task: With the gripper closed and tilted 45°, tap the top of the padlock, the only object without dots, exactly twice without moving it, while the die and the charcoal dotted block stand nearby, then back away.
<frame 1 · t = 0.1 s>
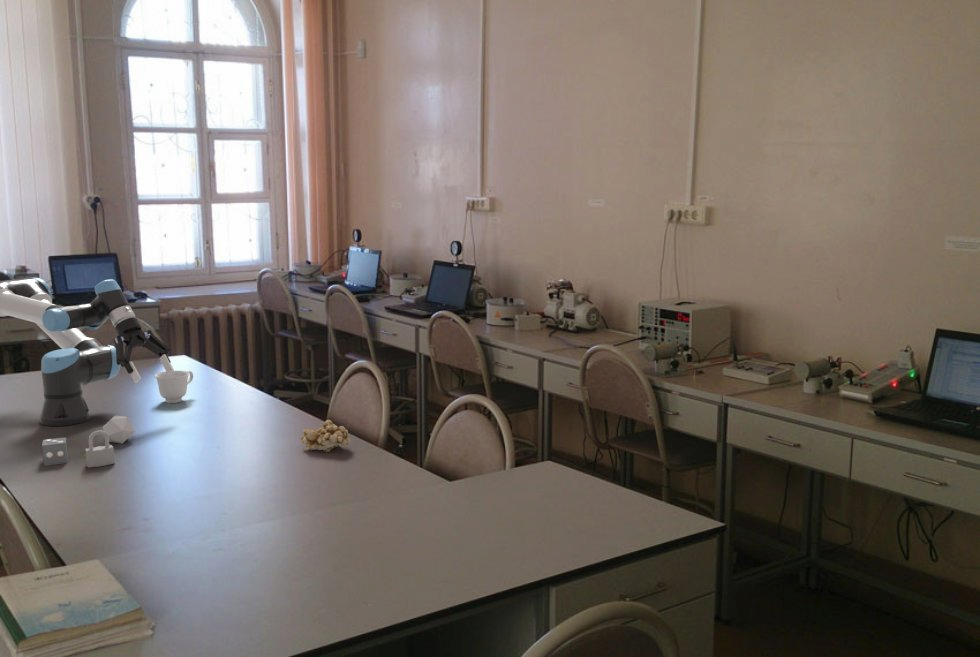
hand: (155, 376, 300), 15 cm above the table, fingers open, 13 cm apart
dotted block: (56, 461, 262), on the table
die: (119, 442, 281), on the table
padlock: (100, 465, 259), on the table
mineral formation: (328, 450, 272), on the table
teacup: (177, 400, 331), on the table
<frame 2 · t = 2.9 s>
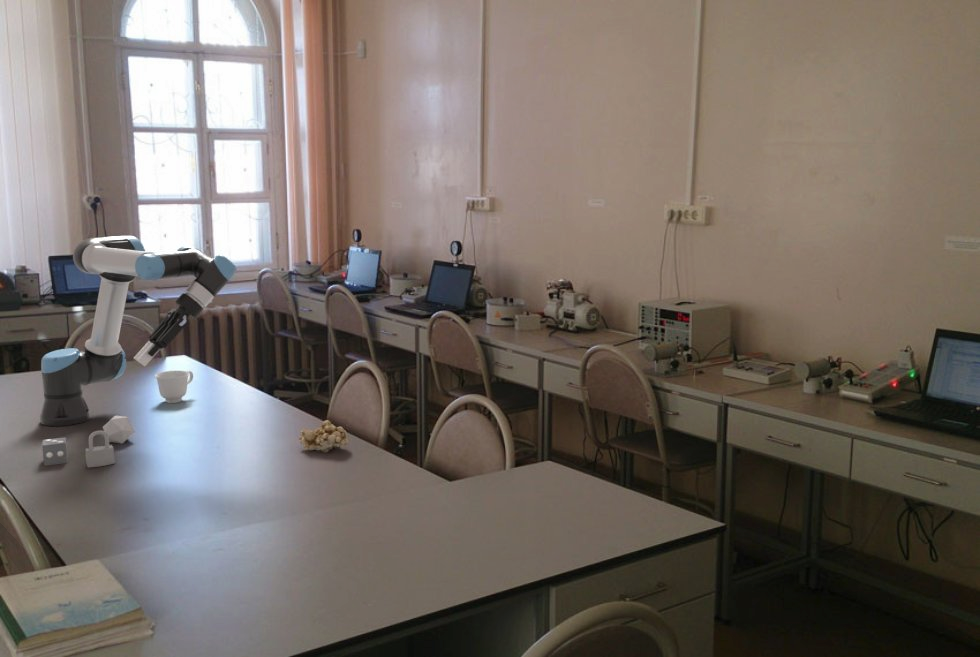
hand: (139, 362, 261), 28 cm above the table, fingers open, 3 cm apart
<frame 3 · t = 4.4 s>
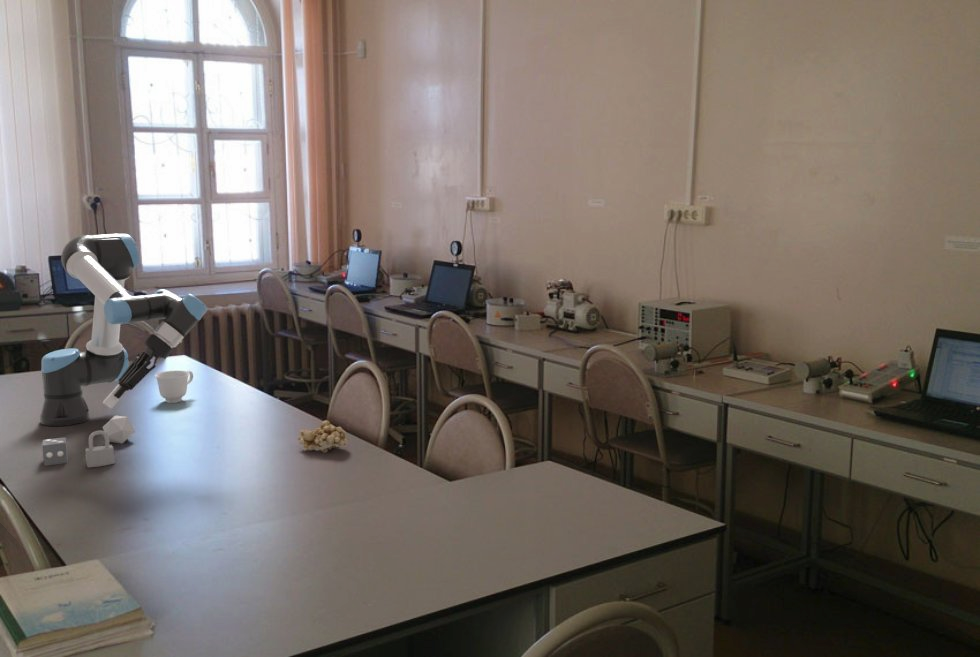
hand: (106, 405, 257), 17 cm above the table, fingers closed
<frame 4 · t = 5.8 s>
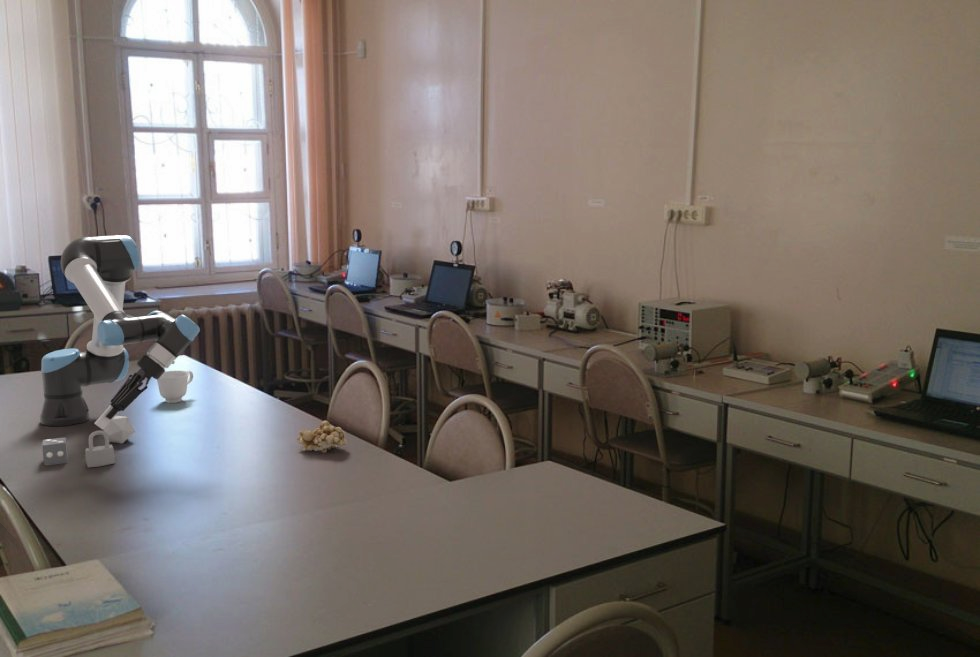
hand: (98, 426, 257), 11 cm above the table, fingers closed
padlock: (100, 465, 259), on the table, touching gripper
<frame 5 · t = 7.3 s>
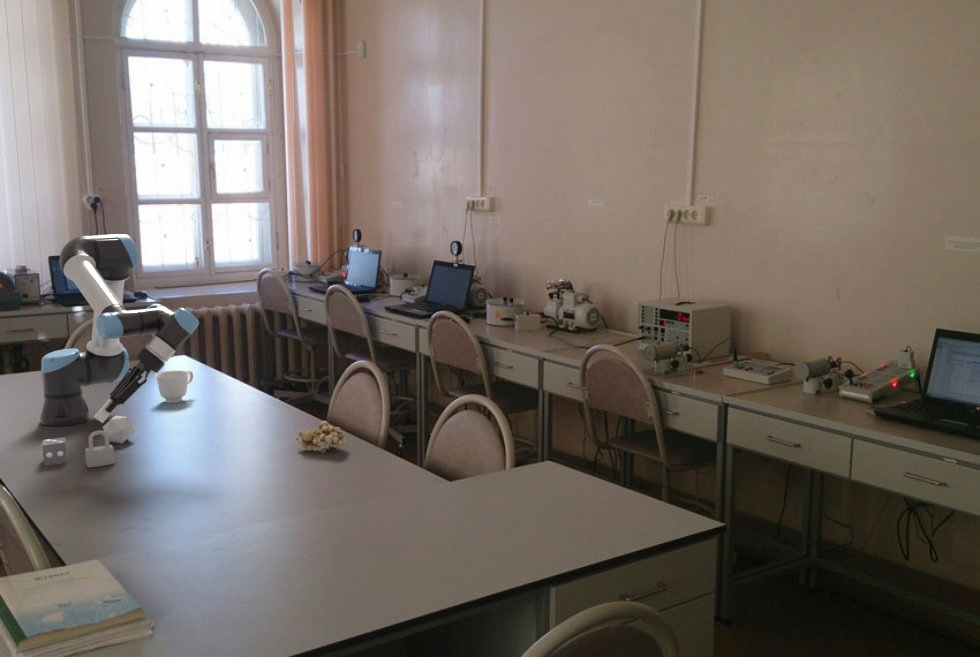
hand: (98, 419, 257), 13 cm above the table, fingers closed
padlock: (100, 465, 259), on the table
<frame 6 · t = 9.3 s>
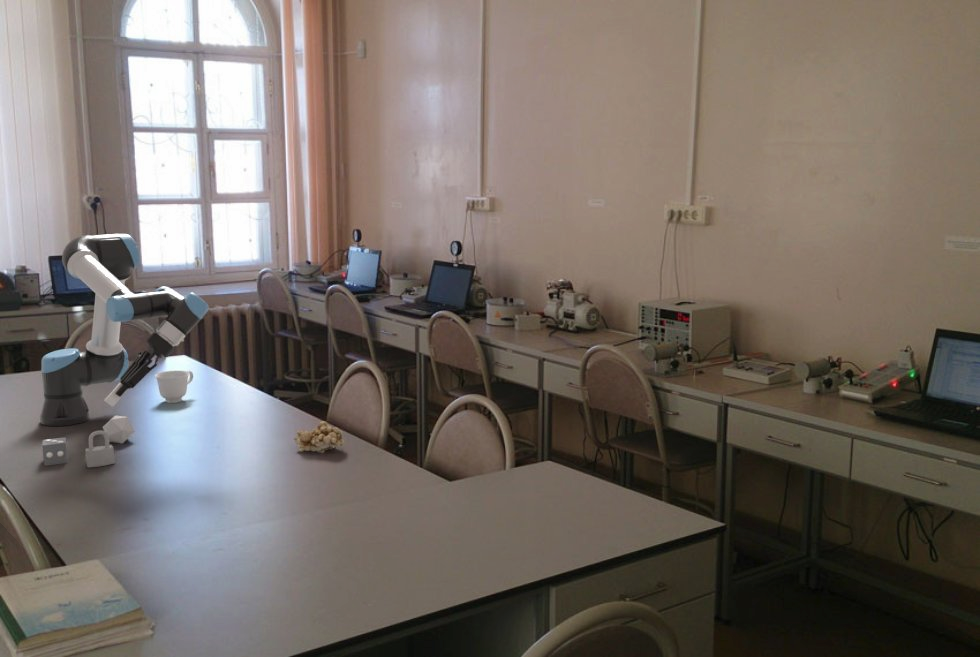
hand: (108, 403, 257), 17 cm above the table, fingers closed
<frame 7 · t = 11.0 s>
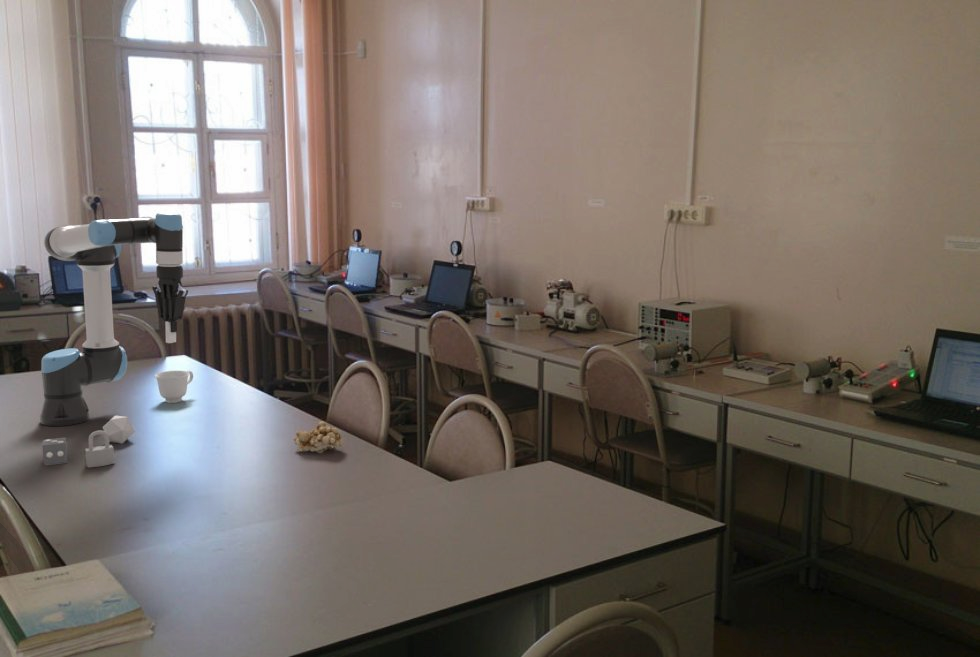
hand: (171, 342, 277), 31 cm above the table, fingers closed
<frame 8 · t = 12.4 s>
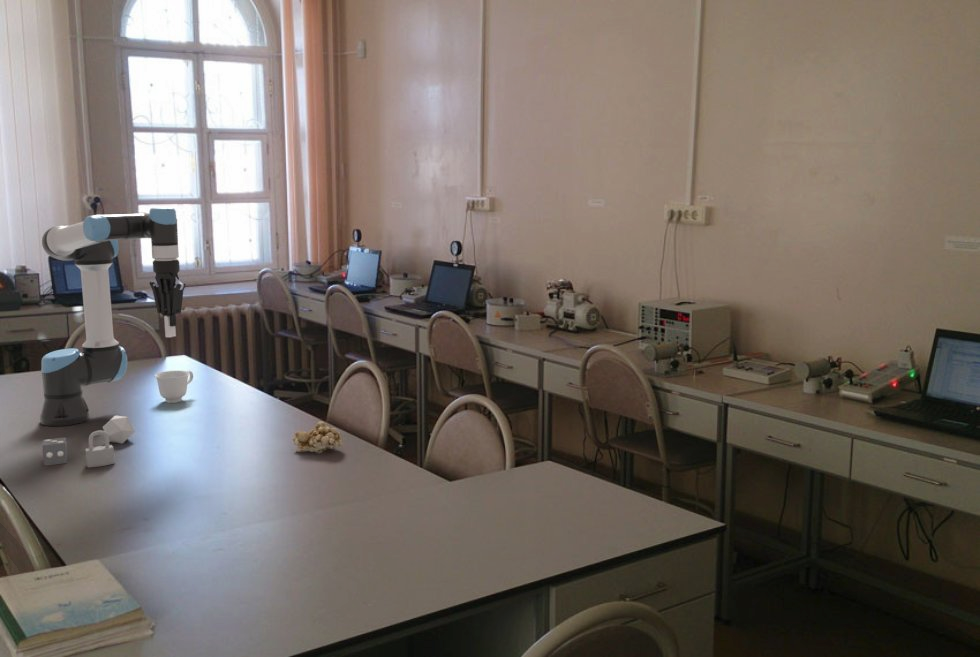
hand: (170, 336, 277), 32 cm above the table, fingers closed
at the end: padlock moved 0.3 cm from its start; padlock tilted 0°; dotted block moved 0.1 cm from its start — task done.
